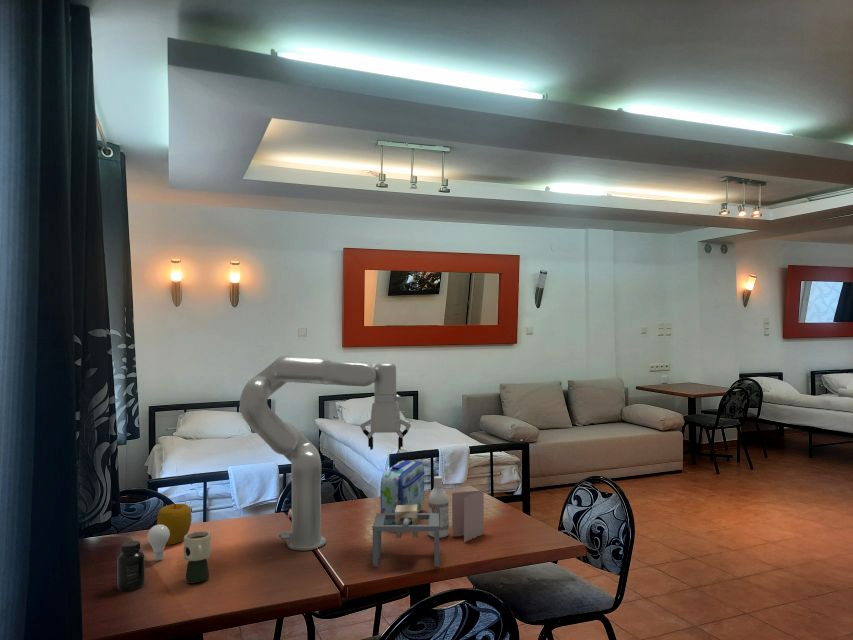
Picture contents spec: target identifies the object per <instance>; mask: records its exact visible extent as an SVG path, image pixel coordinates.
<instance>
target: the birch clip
mask: <svg viewBox="0 0 853 640" xmlns="http://www.w3.org/2000/svg"><path fill="white" fill-rule="evenodd" d="M402 518H412V521H411V525H419V519H418V509H417V504H416V505H396V510H395V524H396V525H402ZM402 534H403V531H397V532H395V538H396V539H402ZM412 538H413V539H414V538H419V531H412Z"/></svg>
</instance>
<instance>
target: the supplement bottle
mask: <svg viewBox="0 0 853 640" xmlns="http://www.w3.org/2000/svg"><path fill="white" fill-rule="evenodd" d="M120 547H121V548H120V549H121V550H120V552H121V553H120V554H119V555H118V556H117V560H116V562H117V563H116V565H117V567H116V569H117V572H116V573H117V574H116V575H117V577H116V578H117V589H118V590H119V591H120V592H131V591H132V592H133V591H135V590H136V591H137V590H139V589H140V588H142V587H143V586H144V585H145V581H146V580H145V579H146V578H145V577H146V575H145V565H146V564H145V552H143V551H142V550H141V548H142V547H141V541H139V540H130V541H126V542H124V543H121V546H120Z"/></svg>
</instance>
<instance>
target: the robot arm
mask: <svg viewBox="0 0 853 640" xmlns="http://www.w3.org/2000/svg"><path fill="white" fill-rule="evenodd" d="M286 383H294V384H295V383H297V384H298V383H299V384H317V385H325V386H326V385H331V386H332V385H333V386H334V385H335V386H346V387H347V386H348V387H369V386H371V385H372V384H373V385H374V387H373V388H374V390H373V391H374V392H373V393H374V396H373V397H374V402H372V406H371V411H370V419H369V420H367V421H365V422H363V423H361V424H360V425H359V427H360V429H361V431H362V432H363V434H364V435H365V436H366V437H367V438H368V439H367V442H368V447H369V450H370V451H371V450H373V449H374V437H373V435H374V434H375V433H377V434H378V433H382V434H383V433H387V434H388V433H390V434H392V433H396V434H397V436H398V437H397V438H398V440H397V444H398V445H397V447H398V448H397V449H398V451H399V450H401V448H403V445H404V441H403V440H404V437H405V436H406V435H407V434H408V432H409V430H410V429H411V426H412V425H411V424H410V422H407V421H405V420H404V419H401V410H400V404H399V402H398V401H399V400H401V395H398V394H397V366H396V364H394V363H393V362H379V363H368V362H359V363H354V362H351V363H350V362H341V361H334V360H331V359H326V358H320V357H319V358H318V357H315V358H313V357H299V356H290V355H282V356H279V357H277V358H276V359H275V360H274V361H273V362H272V363H270V364H269V365H268V366H266V367H265V368H264V369H263V370H262V371H260V372H258V373H257V374H256V375H255V376H253V377H252V378H251V379H249V381H248V382H247V383H246V384H245V385H244V387H243V388H242V392H241V395H240V399H239V410H240V414H241V416H242V417H243V419H244V421H245V422H246V424H247V425H248V426H249V427H250V428H251V429H252V430H253V431H254V432H255V433H256V434H257V435H258V436H259V437H260V438H261V439H262V441H264V442H265V443H266V444H267V445H268V446H269V448H270V449H271V450H272V451H274V453H276V454H278V455H281V456H284V457H285V458H286V459H287V460H288V461H289V462H290V464H291V465H290V468H291V469H290V470H291V529H290V530H288V531H286V530H285V531H284V530H282V531H281V530H280V531H278V532H279V533H278V537H279V538H280V539H281V540H287V542H286V545H287V548H288V549H290V550H294V551H300V552H301V551H304V552H305V551H312V550H316V548H317V547H320V546H322V545H323V546H325V545H326V543H327V539H326V538H325V536H322V494H321V493H322V489H321V488H322V487H321V486H322V485H321V484H322V483H321V482H322V460H321V455H320V453H319V450H318V449H317V447H316V446H315V445H314V444H313V443H312V442H311V441H310V440H309V439H308V438H307V437H306V436H305V435H304V434H303V433H302V432H301V431H300V430H299V429H298V428H297V427H296V426H295V425H293V424H292V423H289V422H284V420H282V419H281V418H280V417H279V416H278V415H277V414H276V412H275V411H273V410H272V409H271V408H270V407H269V404H268V400H269V398H270V396H272V394H275V392H276V391H278V390H279V389H281V388H282V387H283V386H284V385H286ZM369 425H370V431H368V430H367V428H366V427H367V426H369ZM401 425H402V426H404V427H405V428H404V430H403V431H401ZM324 544H325V545H324ZM323 546H322V547H323ZM320 548H321V547H320ZM317 549H318V548H317Z"/></svg>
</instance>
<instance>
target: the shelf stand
mask: <svg viewBox="0 0 853 640" xmlns="http://www.w3.org/2000/svg"><path fill="white" fill-rule="evenodd" d="M387 519H395V513H381V512H379V513H376V515H375V518H374V521H373V524H372V567H373V566H378V567H379V564H378V563H380V560H381V559H380V558H381V555H382V546H383V545H382V543H383V542H382V532H393V533H394V532H395V533H396V532H397V531H402V532H413V531H418V532H429V531H434V537H433V538H434V539H433V543H434V544H433V549H434V550H433V552H434V553H433V555H434V557H433V558H434V563H433V564H434V568H435V567H437V568H438V567H439V568H440V538H439V513H428V512H427V513H426V512H425V513H421V512H419V513H418V520H428V519H429V520H428V524H418V525H412V524H410V523H409V519H412V518H402V519H404V522H403V524H404V525H394V524H385V520H387ZM379 559H380V560H379Z"/></svg>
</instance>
